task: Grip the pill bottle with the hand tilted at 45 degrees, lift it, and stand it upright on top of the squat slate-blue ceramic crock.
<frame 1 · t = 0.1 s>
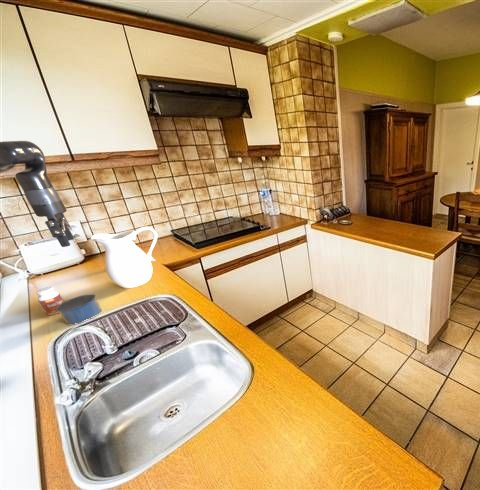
hand: (68, 243, 100), 33 cm above the worktop, tool pointing down, fingers open, 8 cm apart
pitcher: (145, 280, 139), on the worktop
pill bottle: (58, 311, 117), on the worktop
crock: (84, 315, 112), on the worktop
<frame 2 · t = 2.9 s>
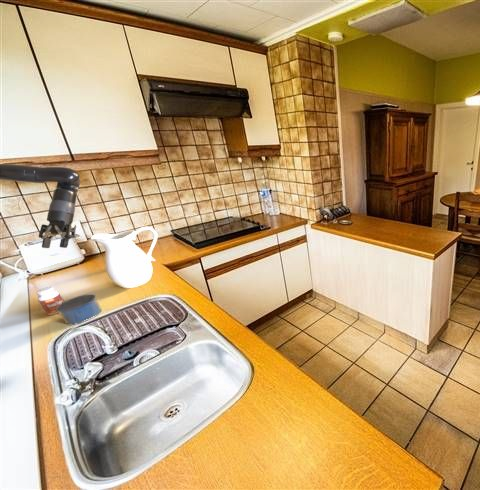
hand: (54, 247, 115), 26 cm above the worktop, tool tilted 35°, fingers open, 8 cm apart
nothing on the worktop moved.
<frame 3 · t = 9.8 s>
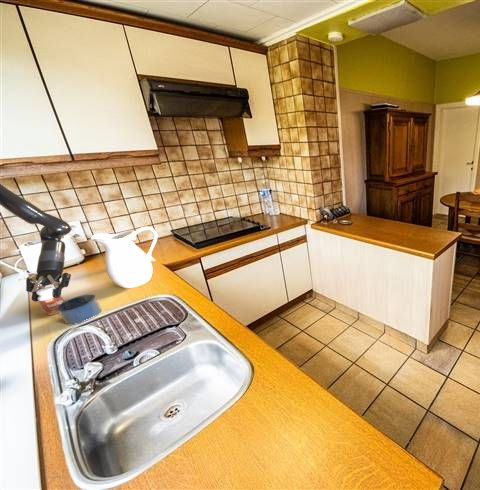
hand: (46, 299, 112), 7 cm above the worktop, tool tilted 45°, fingers closed on pill bottle, 6 cm apart
pill bottle: (58, 311, 117), on the worktop, touching gripper
everything else where it was.
when the fingers open (14 cm above the worktop, at t = 17.2 s): pill bottle stays where it is, resting on crock.
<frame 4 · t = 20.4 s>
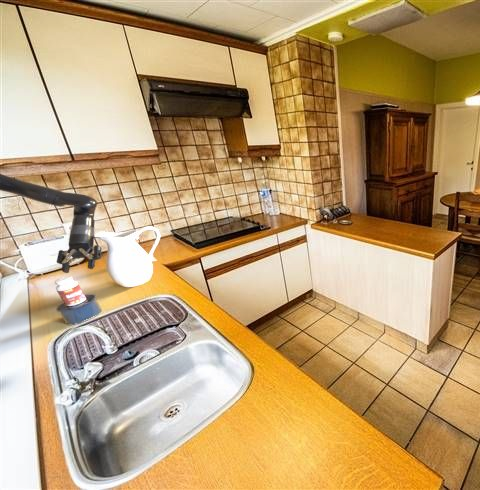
hand: (78, 270, 114), 17 cm above the worktop, tool tilted 45°, fingers open, 8 cm apart
pitcher: (145, 280, 139), on the worktop, touching arm
pill bottle: (76, 302, 110), point 7 cm above the worktop, touching crock
everything else where it was.
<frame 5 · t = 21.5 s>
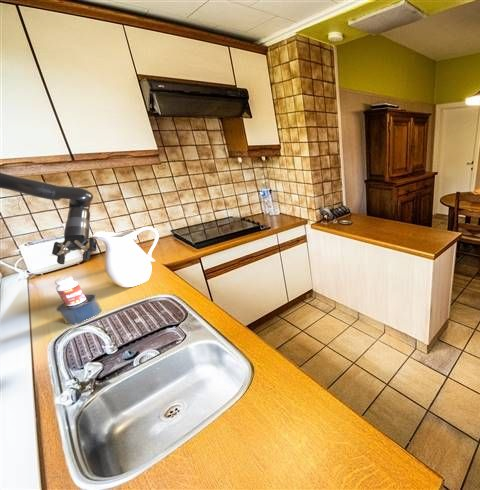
hand: (73, 262, 116), 20 cm above the worktop, tool tilted 45°, fingers open, 8 cm apart
pitcher: (144, 280, 138), on the worktop
everything else where it was.
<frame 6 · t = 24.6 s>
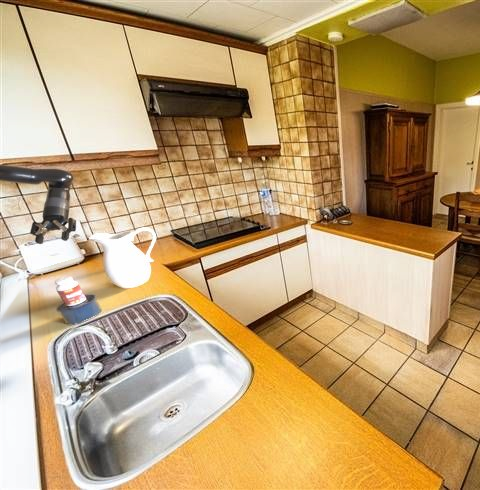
hand: (51, 241, 115), 29 cm above the worktop, tool tilted 45°, fingers open, 8 cm apart
at the end: pill bottle inside the target area on the crock (0.2 cm from its centre), point 6.8 cm above the crock's base; pill bottle tilted 0°; the gripper is holding nothing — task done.
